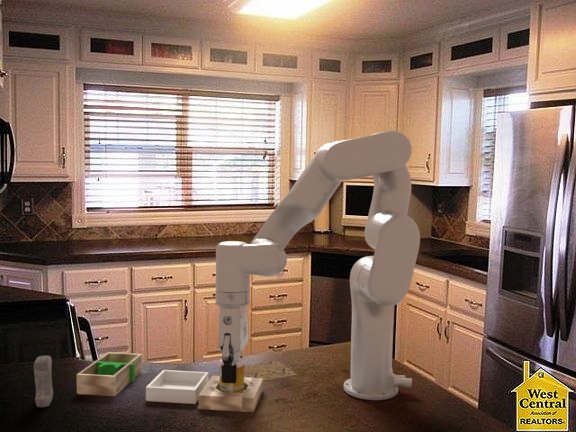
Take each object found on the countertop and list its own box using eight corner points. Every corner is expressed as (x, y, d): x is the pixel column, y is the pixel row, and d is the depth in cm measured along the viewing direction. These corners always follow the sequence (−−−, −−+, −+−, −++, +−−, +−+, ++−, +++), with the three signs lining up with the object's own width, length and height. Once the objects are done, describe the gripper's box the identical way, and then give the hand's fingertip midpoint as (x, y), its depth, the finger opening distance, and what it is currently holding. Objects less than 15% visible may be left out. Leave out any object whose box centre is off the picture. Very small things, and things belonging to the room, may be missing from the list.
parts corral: (141, 371, 142) (141, 354, 141) (114, 396, 126) (114, 376, 125) (108, 369, 143) (107, 352, 142) (76, 393, 127) (76, 374, 126)
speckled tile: (255, 384, 135) (255, 380, 135) (236, 369, 146) (236, 365, 145) (298, 377, 140) (298, 373, 140) (277, 362, 151) (277, 359, 151)
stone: (54, 398, 124) (54, 353, 124) (49, 407, 119) (49, 361, 118) (37, 399, 124) (37, 354, 123) (32, 408, 118) (31, 362, 118)
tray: (208, 385, 133) (208, 372, 133) (195, 403, 122) (195, 390, 122) (163, 382, 134) (163, 369, 134) (145, 400, 123) (145, 387, 123)
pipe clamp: (87, 383, 133) (87, 365, 133) (94, 378, 137) (94, 360, 136) (128, 385, 131) (128, 367, 131) (135, 380, 135) (134, 362, 135)
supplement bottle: (244, 387, 127) (244, 345, 127) (243, 396, 122) (243, 353, 121) (220, 387, 127) (220, 345, 126) (218, 396, 122) (218, 353, 121)
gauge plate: (262, 390, 130) (262, 378, 130) (253, 412, 118) (253, 398, 118) (212, 387, 131) (212, 375, 131) (198, 408, 119) (198, 395, 119)
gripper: (241, 307, 114) (240, 393, 115) (256, 290, 131) (255, 365, 132) (205, 305, 115) (205, 391, 116) (225, 289, 132) (224, 364, 133)
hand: (232, 376), depth 124 cm, fingers closed on supplement bottle, 5 cm apart
